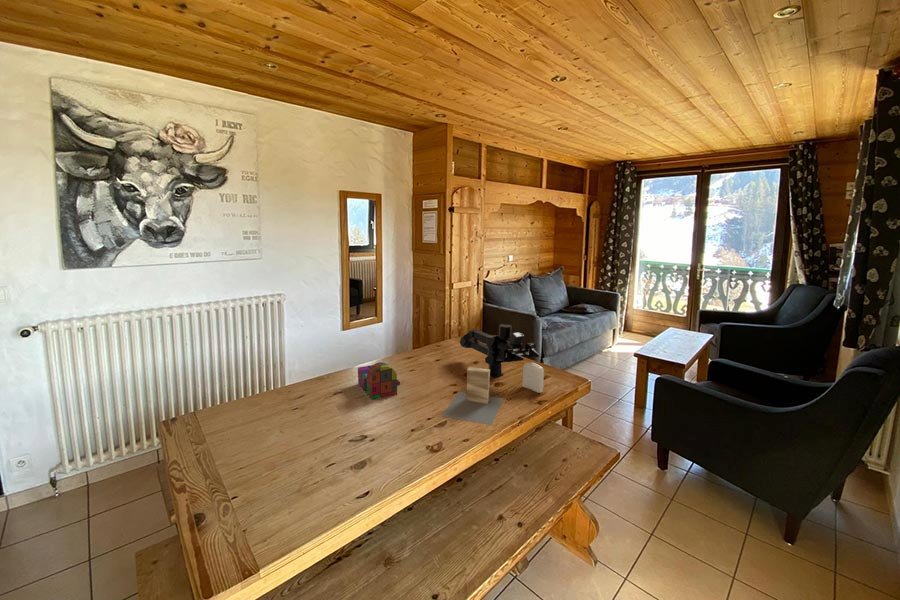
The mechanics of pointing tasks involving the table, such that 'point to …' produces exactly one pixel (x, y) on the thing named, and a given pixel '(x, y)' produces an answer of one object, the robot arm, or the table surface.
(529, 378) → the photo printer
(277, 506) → the table surface
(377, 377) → the block puzzle
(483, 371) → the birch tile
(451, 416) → the rubber mat
